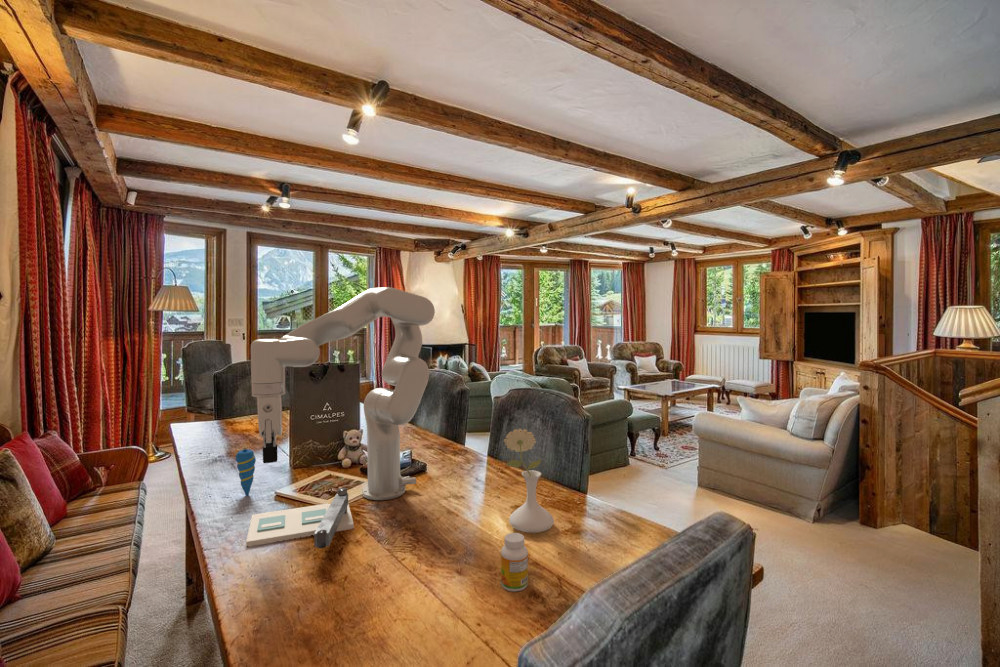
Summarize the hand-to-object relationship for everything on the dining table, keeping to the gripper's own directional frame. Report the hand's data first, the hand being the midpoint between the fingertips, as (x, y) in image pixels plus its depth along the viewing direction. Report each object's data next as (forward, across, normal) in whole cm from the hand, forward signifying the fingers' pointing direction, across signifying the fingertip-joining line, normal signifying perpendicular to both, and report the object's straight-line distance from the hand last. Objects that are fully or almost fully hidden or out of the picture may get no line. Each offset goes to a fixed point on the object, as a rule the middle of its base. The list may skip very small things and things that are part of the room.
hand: (270, 461), depth 119 cm
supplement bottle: (+17, -46, -46) cm, 67 cm away
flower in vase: (+17, -24, -60) cm, 67 cm away
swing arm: (+16, -11, -14) cm, 24 cm away
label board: (+17, 0, -7) cm, 18 cm away
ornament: (+17, +27, +8) cm, 33 cm away
